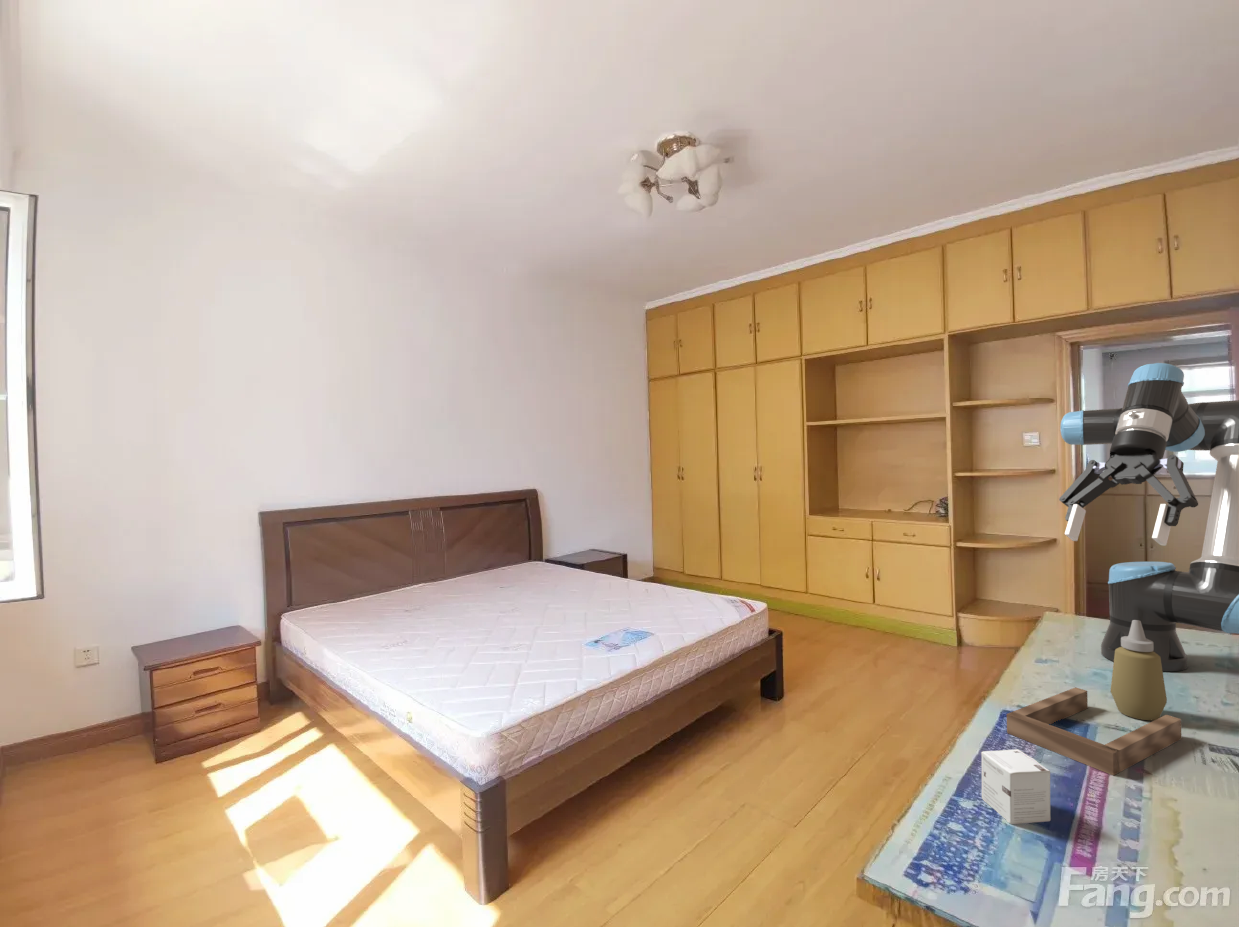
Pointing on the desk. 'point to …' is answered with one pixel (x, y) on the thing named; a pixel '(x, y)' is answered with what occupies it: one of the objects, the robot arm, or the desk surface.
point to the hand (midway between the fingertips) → (1112, 539)
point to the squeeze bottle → (1138, 677)
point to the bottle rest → (1107, 758)
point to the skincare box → (1016, 786)
